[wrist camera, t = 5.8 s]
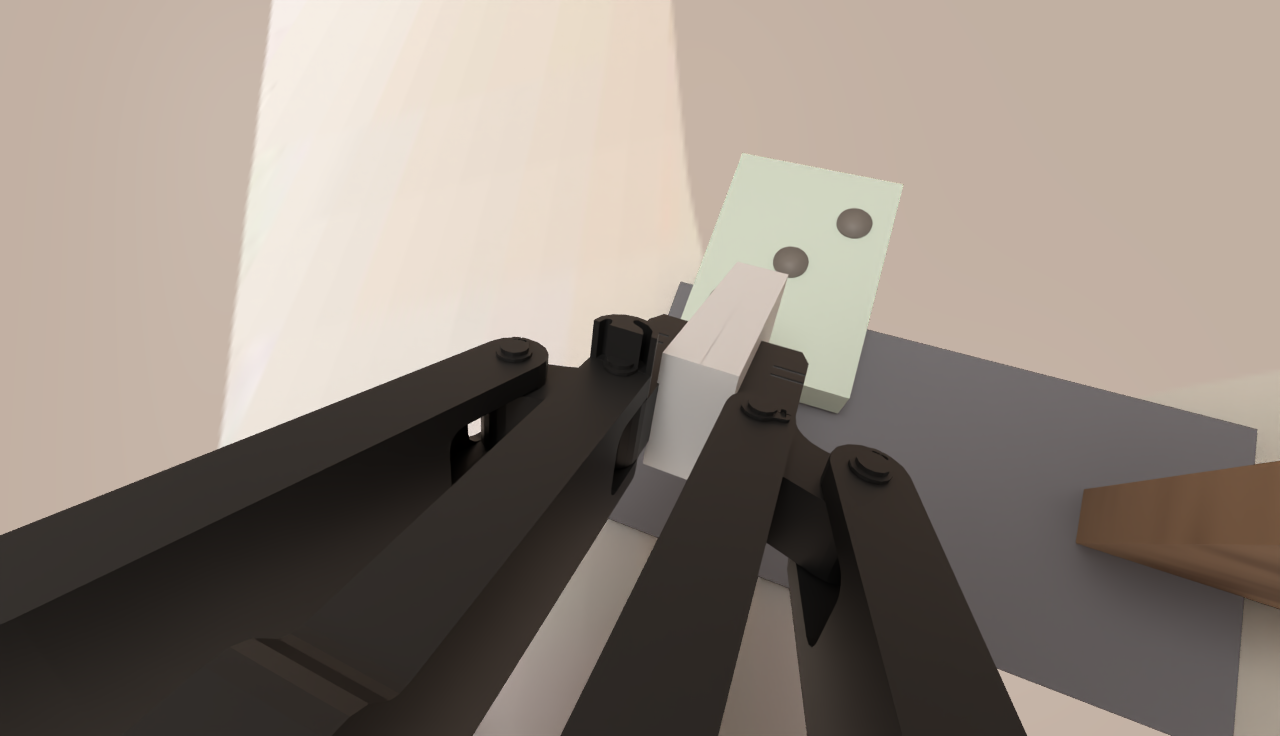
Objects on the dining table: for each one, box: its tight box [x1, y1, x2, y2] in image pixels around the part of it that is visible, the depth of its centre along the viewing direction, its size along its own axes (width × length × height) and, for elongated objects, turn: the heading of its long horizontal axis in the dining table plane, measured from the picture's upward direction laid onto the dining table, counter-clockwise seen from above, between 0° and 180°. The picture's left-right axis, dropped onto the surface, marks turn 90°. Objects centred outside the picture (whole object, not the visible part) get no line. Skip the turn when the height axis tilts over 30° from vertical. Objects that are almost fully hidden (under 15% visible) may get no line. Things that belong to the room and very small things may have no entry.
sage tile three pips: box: [681, 153, 903, 414], centre depth 23 cm, size 7×2×10 cm
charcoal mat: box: [608, 282, 1257, 736], centre depth 21 cm, size 22×11×1 cm, turn 70°
